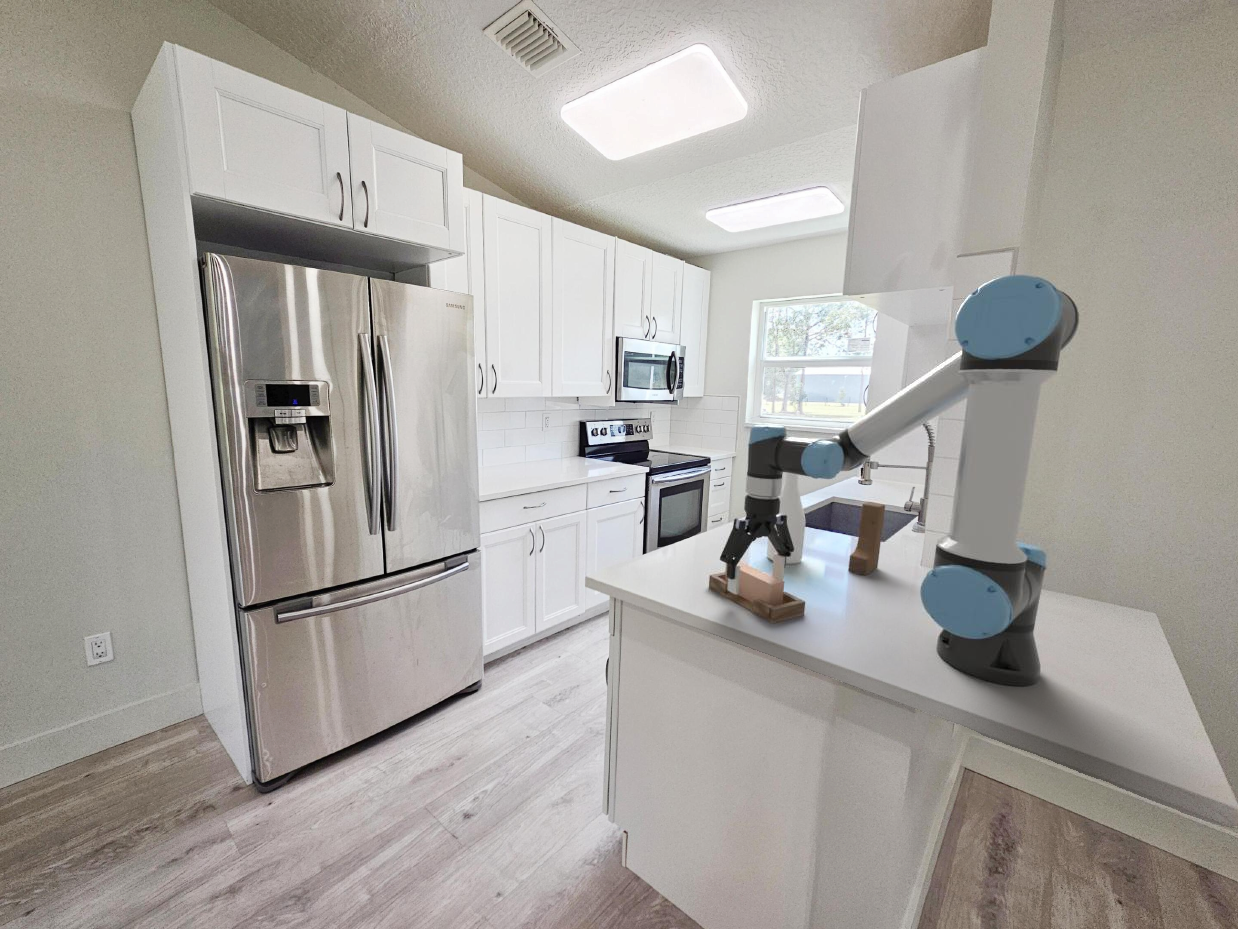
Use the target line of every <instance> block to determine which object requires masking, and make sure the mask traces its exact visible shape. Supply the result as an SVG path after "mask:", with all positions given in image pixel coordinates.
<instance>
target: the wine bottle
mask: <svg viewBox="0 0 1238 929" xmlns="http://www.w3.org/2000/svg"><path fill="white" fill-rule="evenodd" d="M798 480H799V475H798V474H793V473H787V472H785V476H784V483H783V485H782V489H781V495H780V496H778V497H779V498H780V512H779V513H781V514H784V515H786V516H787V526H788V529H789V533H790V536H791V540H792V543H793V546H794V551H793V552H790V553H791V556H790V557H787V556H786V565H794V564H799V563H801V561H802V559H803V550H804V541H805V533H806V532H805V530H806V521H807V520H806V516H805V512H804V507H803V504H802V499H801V496H800V495H801V494H800V492H799V485H798V482H799V481H798ZM774 527H775V528H776V524H775V526H774ZM776 530H777V528H776ZM777 532H778V531H777ZM778 536H779V535H778ZM775 553H777V551H776V550H775V548H774V546H773V545H772V543H771V542H770V540H769V538H768V537H767V547H766V556H767V558H768V559H769V560H771V561H772V562H773V560H774V554H775ZM777 554H778V553H777Z"/></svg>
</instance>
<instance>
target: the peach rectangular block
mask: <svg viewBox="0 0 1238 929" xmlns="http://www.w3.org/2000/svg"><path fill="white" fill-rule="evenodd" d="M738 565H740V579H739V592H738V595H740V596H741V597H743V598H745V599H747V600H749V601H751V602H754V599H756V598H759V599H761V600H763V601H764V602H766V603H768V604H770V605H772V606H777V605H781V604H782V602H783V592H785V591H784V590H785V581H784V580H783V581H782V580H780V579H778V578H776V577H773V576H772V574H769V573H767V572H764V571H762V570H760V569H758V568H757V567H753V566H751V565H748V564H747V563H744V562H742V561H741V560H740V561H739V563H738ZM724 572H725V581H727V582H728V578H727V563H725V571H724Z"/></svg>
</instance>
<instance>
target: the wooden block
mask: <svg viewBox="0 0 1238 929" xmlns="http://www.w3.org/2000/svg"><path fill="white" fill-rule="evenodd" d="M885 511H886V505H885V504H883V503H877V502H872V501H868V502H865V503H862V506H861V513H860V514H861V515H860V524H859V532H858V539H857V544H856V546H855V549H854V551H853V552H852V553H851V554H850V555H849V562H848V571H849V572H852V573H855V574H859V575H862V576H866V575H868V574H869V573H871V572H873V571H875V570H876V569H877V568H878V567H879V566H878V564H879V560H880V558H879V557H880V550H881V542H882V534H883V527H884V526H883V525H884V518H885Z"/></svg>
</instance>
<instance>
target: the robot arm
mask: <svg viewBox="0 0 1238 929" xmlns="http://www.w3.org/2000/svg"><path fill="white" fill-rule="evenodd" d="M1079 323H1080V313H1079V309H1078V307H1077V304H1076V302H1075V301H1074V300H1073V299H1072V297H1071V296H1069V294H1067V293H1065V292H1064V291H1062V290H1060V289H1058V288H1057V287H1056V286H1055V285H1054V284H1053V283H1052V282H1050V281H1048V280H1046V279H1044V278H1042V277H1039V276H1033V275H1026V274H1009V275H1004V276H1000V277H997V278H994V279H992V280H989V281H987V282H985V283H983V284H982V285H980V286H979V287H977V288H976V289H975V290H974V291H973V292H971V293H970V294H969V295H968V296H967V297H966V299H965V300H964V301H963V302H962V304H961V305H960V307H959V309H958V311H957V313H956V316H955V320H954V333H955V337H956V339H957V341H958V344H959V345H960V347H961V351H959V352H958V353H956V354H955V355H953V356H951V357H950V358H948V359H947V360H946V361H944V362H942V363H941V364H939V365H937V367H935V368H933V369H932V370H931V371H930V372H928V373H927V374H924V375H923V376H921V377H920V378H919V379H917V380H916V381H915V382H913V383H911V384H910V385H908V386H907V387H905V388H904V389H902V390H901V391H899V392H898V393H897V394H895V395H893V396H892V397H890V398H889V399H887V400H886V401H885V402H883V403H882V404H880V405H879V406H877V407H876V408H874V409H873V410H872V411H870V412H868V413H867V414H865V415H864V416H862V417H861V418H859V419H858V420H856V421H854V422H853V423H852V424H851V425H849V426H848V427H847V428H845V429H843V430H842V431H841V432H839V433H837V434H836V435H834V436H829V437H817V438H804V437H792V436H788V434H787V428H786V427H785V426H783V425H778V424H777V425H776V424H755V425H753V426H752V427H751V428H750V431H749V432H750V433H749V439H748V443H747V446H748V451H747V452H748V453H747V472H746V481H745V482H746V483H745V493H747V494H746V495H745V496H744V508H743V510H744V511H745V514H746V515H745V516H746V517H745V519H740V518H738V517H735V518H734V520H733V526H732V529H731V531H730V534H729V536H728V538H727V540H726V543H725V545H724V548H723V550H722V552H721V555H720V557H719V560H720V561H721V562H724V563H725V564H726V563H727V578H728V589H727V590H728V591H730V592H732V593H734V594H735V595H737V594H738V592H739V579H740V565H738V563H739V561H740V562H741V560H742V559H743V557H744V555H745V553H746V552H747V550H748V549H749V548H750V545H752V543H753V542H755V541H756V540H757V539H761V538H763V537H765V538H766V537H767V539H768V538H769V540H770V542H771V543H772V545H773V546H774V548H775V550H776V551H777V553H778V554H777V553H775V554H774V560H773V561H772V573H771V576H773V577H776V578H778V579H780V580H782V581H784V577H785V576H784V575H785V568H786V565H787V564H786V556H787V557H790V556H791V553H790V552H793V551H794V546H793V543H792V540H791V536H790V533H789V529H788V526H787V516H786V515H784V514H781V513H779V512H780V498H779V496H780V495H781V491H782V488H783V485H782V484H783V474H784V473H786V472H787V473H793V474H798V476H803V477H804V476H805V477H808V478H809V477H810V478H813V479H816V480H817V479H824V480H831V479H834V478H836V477H837V475H838V474H839V473H840V472H848V471H853V470H854V469H857V468H860V467H861V466H863V465H864V464H865V462H866V460H867V459H868V458H870V457H871V456H872V455H873V456H874V454H876V453H878V452H879V451H880V450H883V449H884V448H886V447H888V446H889V445H891V444H892V443H895V442H896V441H897V440H899V439H901V438H903V437H905V436H906V435H909V433H911V432H912V431H915V430H916V429H918V428H920V427H921V426H923V425H924V424H927V423H928V422H929V421H931V420H933V419H934V418H936V417H938V416H939V415H941V414H943V413H944V412H946V411H948V410H950V409H951V408H953V407H954V406H956V405H958V404H960V403H962V402H963V401H964V400H966V406H965V414H964V419H963V420H964V421H963V430H962V436H961V444H960V450H959V458H958V464H957V471H956V472H957V474H956V479H955V487H954V494H953V502H952V507H951V508H952V509H951V516H950V517H951V518H950V524H949V531H948V533H947V534H945V535H944V536H943V537H941V538H939V539H938V540H936V541H937V542H936V545H935V553H934V559H933V567H932V569H931V570H929V571H928V572H927V573H926V575H925V577H924V578H923V580H922V582H921V586H920V590H919V591H920V594H919V595H920V600H921V602H922V607H924V610H925V611H926V613H927V614H928V615H929V616H930V617H931V619H932V620H933V621H934V622H935V623H936V624H937V625H938V626H940V628H942V630H941V631H940V633H939V635H938V636H937V641H936V651H937V654H938V655H939V657H940V658H942V660H944V661H945V662H946V663H948V664H949V665H950V666H953V667H954V668H956V669H958V670H960V671H961V672H963V673H966V674H969V675H970V676H973V677H975V678H978V679H982V680H984V681H987V682H991V683H996V684H1000V685H1007V686H1014V687H1016V686H1017V687H1023V686H1031V685H1034V684H1036V683H1037V682H1039V679H1040V673H1041V661H1040V660H1041V659H1040V656H1039V653H1038V652H1039V651H1038V649H1037V644H1036V639H1035V635H1034V632H1035V626H1036V620H1037V615H1038V609H1039V604H1040V597H1041V593H1042V589H1043V588H1042V587H1043V582H1044V577H1045V571H1046V570H1047V568H1048V566H1047V556H1048V555H1047V553H1046V552H1045V550H1044V549H1042V548H1041V547H1039V546H1036V545H1033V544H1029V543H1024V542H1021V541H1017V539H1018V534H1019V528H1020V527H1019V526H1020V520H1021V513H1022V507H1023V504H1024V503H1023V502H1024V496H1025V495H1024V494H1025V489H1026V483H1027V476H1028V471H1029V464H1030V457H1031V451H1032V444H1033V438H1034V433H1035V432H1034V431H1035V426H1036V421H1037V420H1036V419H1037V413H1038V407H1039V400H1040V393H1041V387H1042V385H1044V383H1045V382H1047V381H1048V380H1050V379H1051V378H1052V377H1054V376H1055V375H1056V374H1057V373H1058V368H1059V362H1060V355H1061V351H1063V350H1064V348H1066V347H1067V345H1069V343H1071V342H1072V339H1073V338H1074V336H1075V335H1076V333H1077V331H1078V328H1079ZM775 524H776V528H777V530H776V528H775V527H774V526H775ZM777 531H778V532H777ZM778 535H779V536H778Z"/></svg>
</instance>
